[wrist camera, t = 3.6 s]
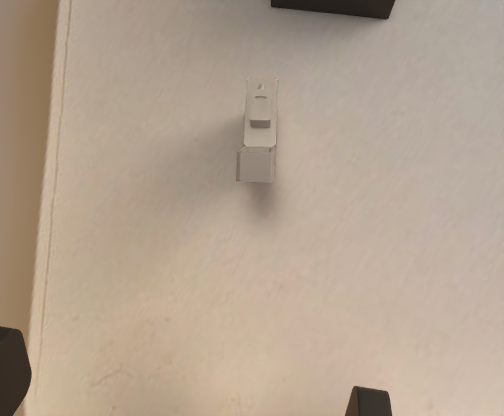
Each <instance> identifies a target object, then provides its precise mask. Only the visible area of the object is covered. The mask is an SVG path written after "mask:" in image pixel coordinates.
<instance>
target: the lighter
mask: <svg viewBox="0 0 504 416" xmlns="http://www.w3.org/2000/svg"><path fill="white" fill-rule="evenodd" d="M277 97H278V80H277V79H276V78H257V77H250V78H249V79H248V80H247V89H246V106H245V124H244V142H243V144H244V146H243V147H242V148H241V149H240V150H239V151H238V152H237V173H236V181H240V182H269V183H271V182H274V172H275V151H276V125H277Z"/></svg>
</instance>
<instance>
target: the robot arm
mask: <svg viewBox="0 0 504 416" xmlns="http://www.w3.org/2000/svg"><path fill="white" fill-rule="evenodd" d="M31 375H32V373H31V367H30V363H29V359H28V355H27V351H26V347H25V343H24V338H23V335H22V333H21V331H20V330H18V329H12V328H6V327H1V326H0V416H13V414H14V413H15V411H16V410H17V408H18V407H19V405H20V404H21V402H22V401H23V399H24V397H25V396H26V394H27V391H28V389H29V386H30V382H31ZM345 416H392V411H391V404H390V397H389V394H388V392H387V391H383V390H377V389H371V388H365V387H358V386H354V387H353V390H352V393H351V396H350V400H349V403H348V407H347V410H346V414H345Z"/></svg>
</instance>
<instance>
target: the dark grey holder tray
mask: <svg viewBox="0 0 504 416" xmlns="http://www.w3.org/2000/svg"><path fill="white" fill-rule="evenodd" d="M394 2H395V0H271V6H272V7H282V8H291V9H301V10H310V11H319V12H329V13H338V14H348V15H357V16H367V17H376V18H385V19H388V18H389V15H390V13H391V10H392V7H393V5H394Z"/></svg>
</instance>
